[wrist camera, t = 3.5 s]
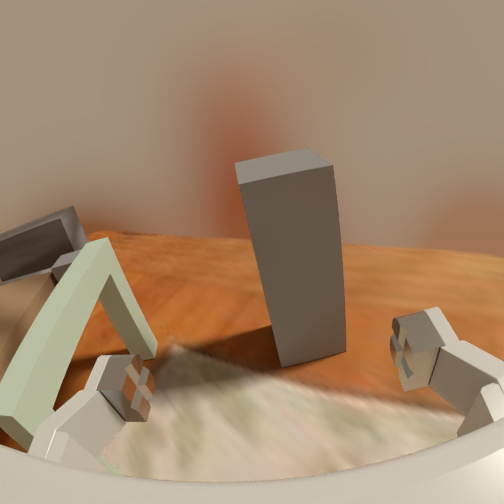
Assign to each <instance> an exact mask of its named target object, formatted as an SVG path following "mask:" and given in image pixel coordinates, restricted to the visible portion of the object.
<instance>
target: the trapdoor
mask: <svg viewBox="0 0 504 504" xmlns="http://www.w3.org/2000/svg"><path fill="white" fill-rule="evenodd" d="M86 243H88V240H87V238H86V236H85V233H84V231H83V229H82V226H81V224H80V221H79V219H78V217H77V214H76V211H75V209H74V206H71V207H68V208H65V209H63V210H60V211H57V212H54V213H52V214H49V215H47V216H44V217H41V218H39V219H36V220H34V221H31V222H29V223H26V224H24V225H21V226H19V227H16V228H14V229H12V230H9V231H7V232H5V233H2V234H0V278H1V280H2V282H1V283H0V382H1V380H2V378H3V376H4V374H5V372H6V370H7V368H8V366H9V364H10V362H11V360H12V359H13V357H14V355H15V353H16V351H17V349H18V348H19V346H20V344H21V342H22V340H23V339H24V337H25V335H26V334H27V332H28V330H29V328H30V327H31V325H32V323H33V322H34V320H35V318H36V317H37V315H38V313H39V312H40V310H41V309H42V307H43V305H44V304H45V302H46V301H47V299H48V298H49V296H50V294H51V293H52V291H53V290H54V288H55V287H56V285H57V284H58V282H57V280H56V278H55V276H54V274H53V272H52V270H51V268H52V266H53V265H54V264H55V262H56V261H57V260H58V259H59V257H60V256H61V255H64V254H67V253H71V252H74V251H78V250H81V249H82V248H83V247H84V246H85V244H86Z"/></svg>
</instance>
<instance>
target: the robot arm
mask: <svg viewBox="0 0 504 504" xmlns="http://www.w3.org/2000/svg"><path fill="white" fill-rule="evenodd" d="M392 329H393V331H394V334H393V335H392V336H391V339H390V350H391V356H392V359H393V362H394V365H395V366H397V367H399V368H400V370H399V378H400V381H401V384H402V386H403V389H404V392H405V391H409V390H413V389H417V388H421V387H424V386H428V385H429V387H430V388H431V389H432V390H434V391H435V392H436V393H437V394H439V395H440V396H441V397H442V398H443V399H445V400H446V401H447V402H448V403H450V404H451V405H452V406H453V407H455V408H456V409H457V410H458V411H460V412H461V413H462V414H463V415H465V416H466V418H465V419H464V421H463V423H462V424H461V426H460V428H459V429H458V431H457V435H458V438H455V439H452V440H450V441H447V442H444V443H442V444H439V445H436V446H433V447H430V448H427V449H424V450H421V451H418V452H415V453H411V454H408V455H405V456H401V457H398V458H394V459H390V460H386V461H383V462H379V463H374V464H370V465H366V466H361V467H357V468H352V469H347V470H342V471H336V472H330V473H324V474H318V475H311V476H303V477H295V478H286V479H276V480H263V481H244V482H191V481H172V480H159V479H149V478H140V477H132V476H124V475H118V474H111V473H106V470H107V468H106V466H105V465H104V464H103V463H102V462H100V461H99V460H98V459H97V457H98V456H99V455H100V454H101V452H102V451H103V450H104V449H105V448H106V446H107V445H108V444H109V443H110V442H111V440H112V439H113V438H114V437H115V436H116V434H117V433H118V432H119V431H120V430H121V428H122V427H123V426H124V425H125V424H126V422H147V419H148V415H149V411H150V407H151V406H150V404H149V402H148V401H149V400H150V399H151V398H152V397H153V395H154V391H155V381H154V378H153V375H152V373H151V372H150V370H148V369H147V368H145V367H144V366H143V365H144V360H143V359H142V357H141V356H140V355H137V354H133V355H101V356H100V357H98V358H97V361H96V363H95V365H94V367H93V370H92V372H91V374H90V376H89V379H88V381H87V383H86V386H85V388H84V390H80V391H79V392H78V393H76V394H75V395H74V396H73V397H72V398H71V399H69V400H68V401H67V402H66V403H65V404H64V405H62V406H61V407H60V408H59V409H58V410H57V411H55V412H54V413H53V414H52V415H51V416H50V417H49V418H47V419H46V420H45V421H44V422H43V423H42V424H40V425H39V426H38V429H37V431H36V433H35V436H34V438H33V441H32V443H31V446H30V448H29V451H28V453H24V452H21V451H18V450H15V449H12V448H9V447H7V446H4V445H1V444H0V504H504V362H503V361H501V360H500V359H498V358H496V357H494V356H492V355H490V354H489V353H487V352H485V351H483V350H481V349H479V348H477V347H476V346H474V345H472V344H470V343H468V342H466V341H464V340H462V341H459V339H458V337H457V336H456V334H455V332H454V331H453V329H452V328H451V326H450V324H449V323H448V321H447V320H446V318H445V316H444V315H443V313H442V312H441V310H440V309H439V308H438V307H434V308H430V309H427V310H423V311H419V312H415V313H411V314H407V315H403V316H399V317H395V318H394V319H393V321H392Z"/></svg>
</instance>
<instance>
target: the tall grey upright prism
mask: <svg viewBox="0 0 504 504" xmlns="http://www.w3.org/2000/svg"><path fill="white" fill-rule="evenodd" d="M235 168H236V173H237V178H238V184H239V188H240V192H241V197H242V201H243V205H244V209H245V213H246V218H247V222H248V227H249V230H250V235H251V239H252V244H253V248H254V252H255V256H256V261H257V265H258V269H259V273H260V278H261V282H262V286H263V291H264V295H265V299H266V303H267V308H268V312H269V316H270V321H271V325H272V329H273V334H274V338H275V342H276V346H277V351H278V355H279V359H280V364H281V368H282V367H287V366H291V365H295V364H300V363H304V362H308V361H312V360H316V359H320V358H324V357H327V356H331V355H335V354H338V353H342V352H346V321H345V296H344V277H343V261H342V248H341V236H340V225H339V214H338V204H337V195H336V187H335V178H334V170H333V165H332V164H331V163H329V162H328V161H327V160H325V159H324V158H322V157H321V156H320V155H318V154H317V153H315V152H314V151H312V150H311V149H309V148H306V149H300V150H295V151H290V152H284V153H280V154H275V155H270V156H265V157H260V158H256V159H251V160H247V161H242V162H238V163H235Z"/></svg>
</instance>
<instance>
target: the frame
mask: <svg viewBox="0 0 504 504" xmlns="http://www.w3.org/2000/svg"><path fill="white" fill-rule="evenodd" d="M51 270H52V272H53V274H54V276H55V278H56V280H57V282H58V284H57V286H56V287H55V289H54V290H53V292H52V293H51V295H50V296H49V298H48V300H47V301H46V303H45V304H44V306H43V307H42V309H41V311H40V312H39V314H38V315H37V317H36V319H35V320H34V322H33V324H32V325H31V327H30V329H29V331H28V332H27V334H26V336H25V337H24V339H23V341H22V343H21V344H20V346H19V348H18V350H17V352H16V354H15V355H14V357H13V359H12V360H11V362H10V364H9V366H8V368H7V370H6V372H5V374H4V376H3V378H2V380H1V382H0V428H2V429H3V430H4V431H5V432H6V433H7V434H8V435H9V436H10V437H11V438H12V439H14V440H15V441H16V442H17V443H18V444H19V445H21V446H22V447H23V448H24V449H25V450H26V451H29V448H30V446H31V443H32V441H33V438H34V436H35V433H36V431H37V429H38V426H39V425H40V424H42V423H43V422H44V421H45V420H46V419H47V418H49V417H50V416H51V415H52V414H53V413H54V412H55V411H54V410H53V406H54V403H55V400H56V397H57V395H58V392H59V389H60V387H61V384H62V381H63V379H64V376H65V373H66V371H67V368H68V366H69V363H70V361H71V358H72V356H73V353H74V351H75V349H76V346H77V344H78V342H79V339H80V337H81V335H82V332H83V330H84V328H85V325H86V323H87V321H88V319H89V317H90V314H91V312H92V310H93V308H94V306H95V304H96V301H97V299H98V298H99V300H100V302H101V304H102V306H103V308H104V310H105V311H106V313H107V315H108V317H109V319H110V320H111V322H112V324H113V326H114V327H115V329H116V331H117V333H118V334H119V336H120V338H121V339H122V341H123V343H124V344H125V346H126V348H127V349H128V351H129V353H130V354H131V355H133V354H137V355H140V356H141V357H142V359H143V360H148V359H155V356H156V350H157V344H158V342H157V340H156V339H155V337H154V335H153V333H152V331H151V329H150V327H149V325H148V323H147V321H146V319H145V317H144V315H143V313H142V311H141V309H140V307H139V305H138V303H137V301H136V299H135V297H134V295H133V293H132V291H131V289H130V287H129V284H128V282H127V280H126V278H125V276H124V274H123V271H122V269H121V267H120V265H119V262H118V260H117V258H116V255H115V253H114V251H113V248H112V246H111V244H110V241H109V239H108V237H106V238H103V239H99V240H96V241H92V242H89V243H86V244H85V246H84V247H83V248H82V249H81V250H78V251H74V252H71V253H67V254H64V255H61V256H60V257H59V259H58V260H57V261H56V262H55V264H54V265H53V266H52V268H51ZM97 459H98V460H99V461H100V462H102V463H103V464H104V465H105V466H106V468H107V470H106V473H111V474H118V475H124V476H126V475H125V474H124V473H122V472H121V471H120V470H118V469H117V468H116V467H115V466H113V465H112V464H111V463H110V462H109V461H107V460H106V459H105V458H104V457H103V456H101V455H99V456H98V457H97Z"/></svg>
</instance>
